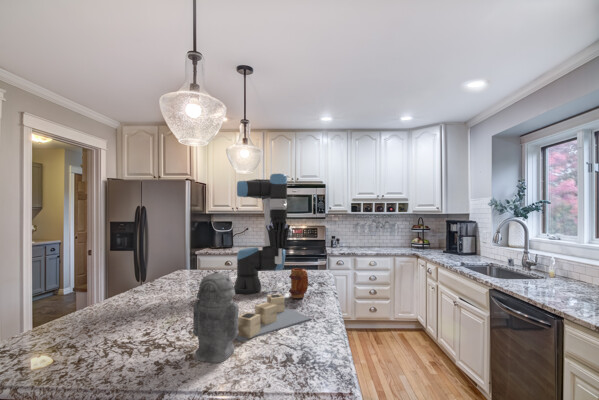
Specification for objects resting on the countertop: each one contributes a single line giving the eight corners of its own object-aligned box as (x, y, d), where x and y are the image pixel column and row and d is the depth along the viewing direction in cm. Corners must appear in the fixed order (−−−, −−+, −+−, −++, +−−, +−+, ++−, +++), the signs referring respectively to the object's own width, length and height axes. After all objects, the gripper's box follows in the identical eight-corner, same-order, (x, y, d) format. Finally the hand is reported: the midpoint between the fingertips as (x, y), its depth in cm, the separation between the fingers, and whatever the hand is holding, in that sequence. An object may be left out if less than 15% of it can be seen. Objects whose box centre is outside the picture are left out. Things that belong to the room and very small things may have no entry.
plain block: (255, 321, 113) (255, 305, 114) (266, 317, 118) (266, 302, 118) (265, 325, 109) (265, 309, 110) (276, 320, 114) (276, 305, 114)
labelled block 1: (236, 334, 101) (236, 316, 101) (246, 328, 106) (246, 311, 106) (250, 338, 98) (250, 319, 98) (260, 331, 103) (260, 313, 104)
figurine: (202, 344, 94) (203, 267, 95) (242, 349, 91) (243, 269, 92) (184, 359, 85) (185, 273, 86) (228, 365, 82) (229, 276, 83)
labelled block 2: (266, 309, 128) (266, 294, 128) (279, 307, 130) (279, 293, 130) (271, 313, 122) (271, 298, 122) (284, 311, 124) (284, 296, 125)
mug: (286, 296, 150) (286, 266, 150) (300, 294, 153) (300, 265, 154) (298, 304, 136) (298, 272, 137) (313, 301, 140) (313, 270, 140)
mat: (215, 323, 112) (215, 322, 112) (282, 307, 132) (282, 305, 132) (239, 341, 96) (239, 339, 96) (311, 319, 117) (311, 318, 117)
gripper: (273, 208, 119) (273, 266, 117) (294, 209, 129) (294, 262, 127) (261, 209, 124) (261, 264, 122) (282, 209, 134) (282, 261, 132)
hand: (278, 263), depth 125 cm, fingers closed
